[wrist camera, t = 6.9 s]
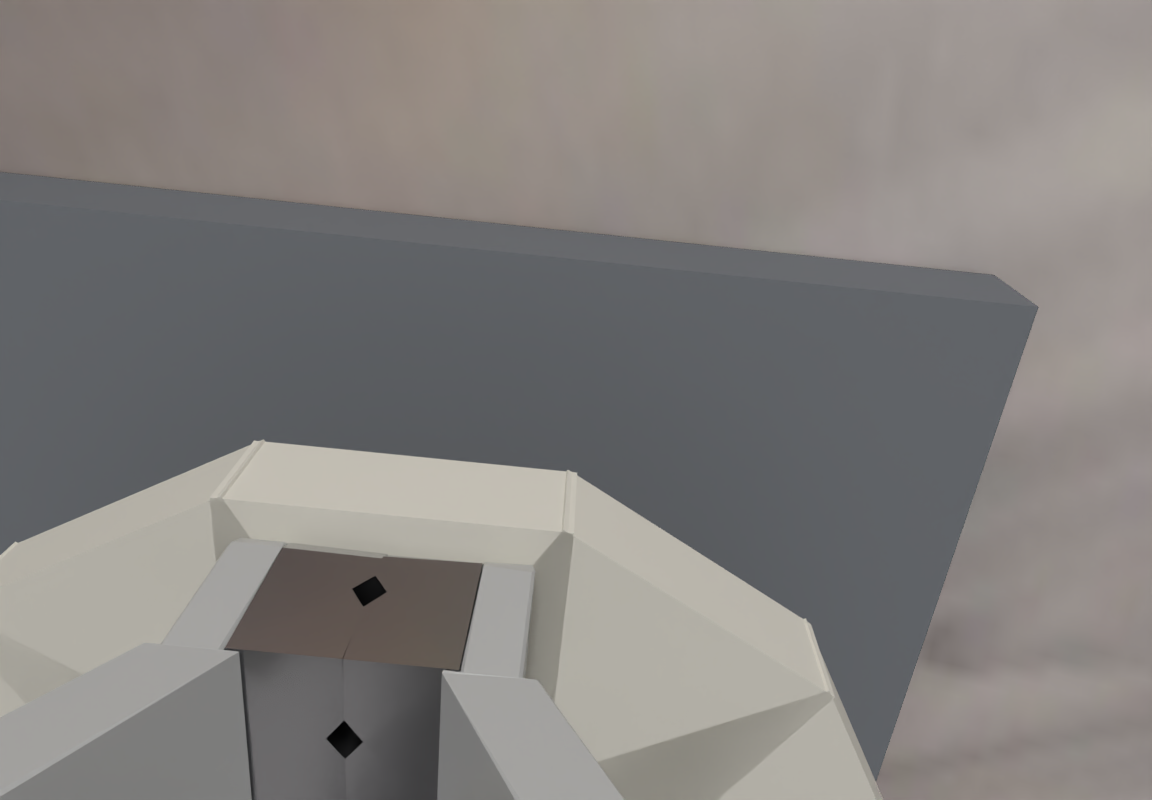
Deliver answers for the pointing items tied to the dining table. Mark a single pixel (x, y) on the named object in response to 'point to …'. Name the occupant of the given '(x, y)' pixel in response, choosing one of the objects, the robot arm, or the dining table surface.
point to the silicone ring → (473, 534)
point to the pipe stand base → (521, 382)
